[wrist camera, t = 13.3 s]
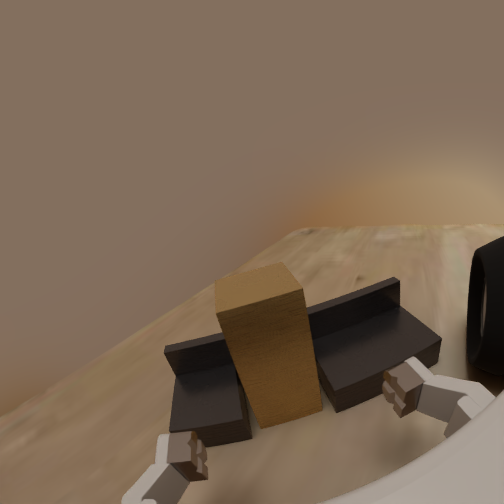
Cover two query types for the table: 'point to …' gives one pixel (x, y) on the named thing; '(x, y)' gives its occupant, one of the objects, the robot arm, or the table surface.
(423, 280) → the table surface
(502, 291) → the portable speaker
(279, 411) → the wooden block
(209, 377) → the rail
